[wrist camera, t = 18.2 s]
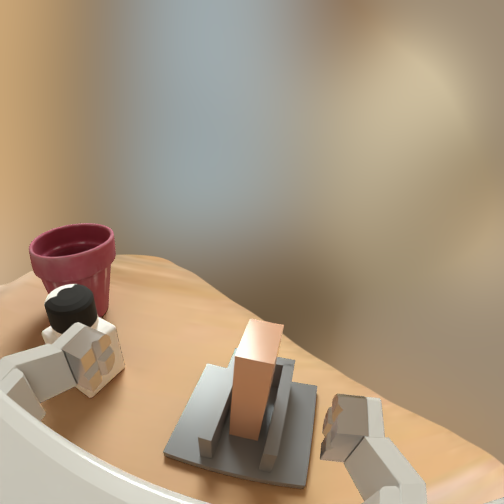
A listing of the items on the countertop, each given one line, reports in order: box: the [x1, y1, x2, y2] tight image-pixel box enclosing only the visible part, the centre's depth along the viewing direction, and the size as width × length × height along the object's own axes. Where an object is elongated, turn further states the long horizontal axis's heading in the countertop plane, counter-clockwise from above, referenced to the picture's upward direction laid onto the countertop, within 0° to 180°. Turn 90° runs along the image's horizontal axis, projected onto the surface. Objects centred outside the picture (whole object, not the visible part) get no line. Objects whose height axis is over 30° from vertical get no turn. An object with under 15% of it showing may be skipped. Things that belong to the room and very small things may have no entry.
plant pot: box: [29, 223, 116, 317], centre depth 41 cm, size 14×14×13 cm
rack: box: [163, 348, 317, 489], centre depth 28 cm, size 14×14×5 cm
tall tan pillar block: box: [229, 319, 284, 441], centre depth 26 cm, size 3×5×12 cm, turn 167°
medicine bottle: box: [42, 284, 125, 398], centre depth 30 cm, size 7×7×12 cm
